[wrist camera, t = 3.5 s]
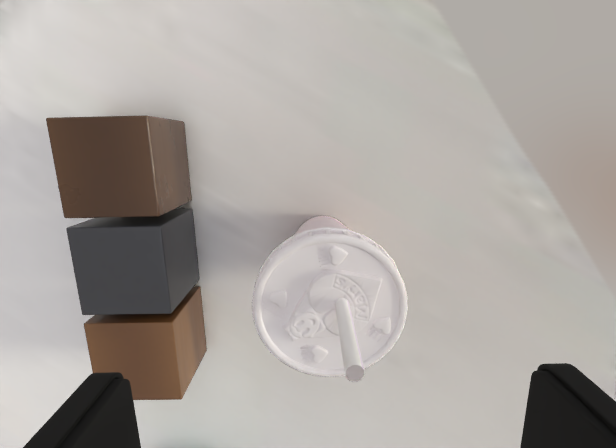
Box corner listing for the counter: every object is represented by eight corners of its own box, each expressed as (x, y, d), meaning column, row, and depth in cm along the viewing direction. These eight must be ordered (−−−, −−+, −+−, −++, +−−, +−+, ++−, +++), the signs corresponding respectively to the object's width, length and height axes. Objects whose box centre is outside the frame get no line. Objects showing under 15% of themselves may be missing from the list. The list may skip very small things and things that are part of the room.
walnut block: (184, 121, 22) (147, 115, 17) (192, 200, 23) (159, 216, 18) (104, 123, 22) (44, 117, 17) (116, 202, 23) (63, 218, 18)
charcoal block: (192, 208, 23) (160, 226, 18) (199, 279, 24) (171, 314, 19) (117, 209, 23) (65, 227, 18) (128, 280, 24) (81, 315, 19)
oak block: (200, 286, 24) (172, 322, 19) (206, 350, 25) (181, 399, 20) (129, 287, 24) (83, 323, 19) (138, 351, 25) (97, 400, 21)
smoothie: (387, 256, 24) (493, 412, 10) (308, 303, 24) (304, 507, 11) (337, 176, 22) (379, 228, 9) (256, 228, 23) (176, 351, 10)
